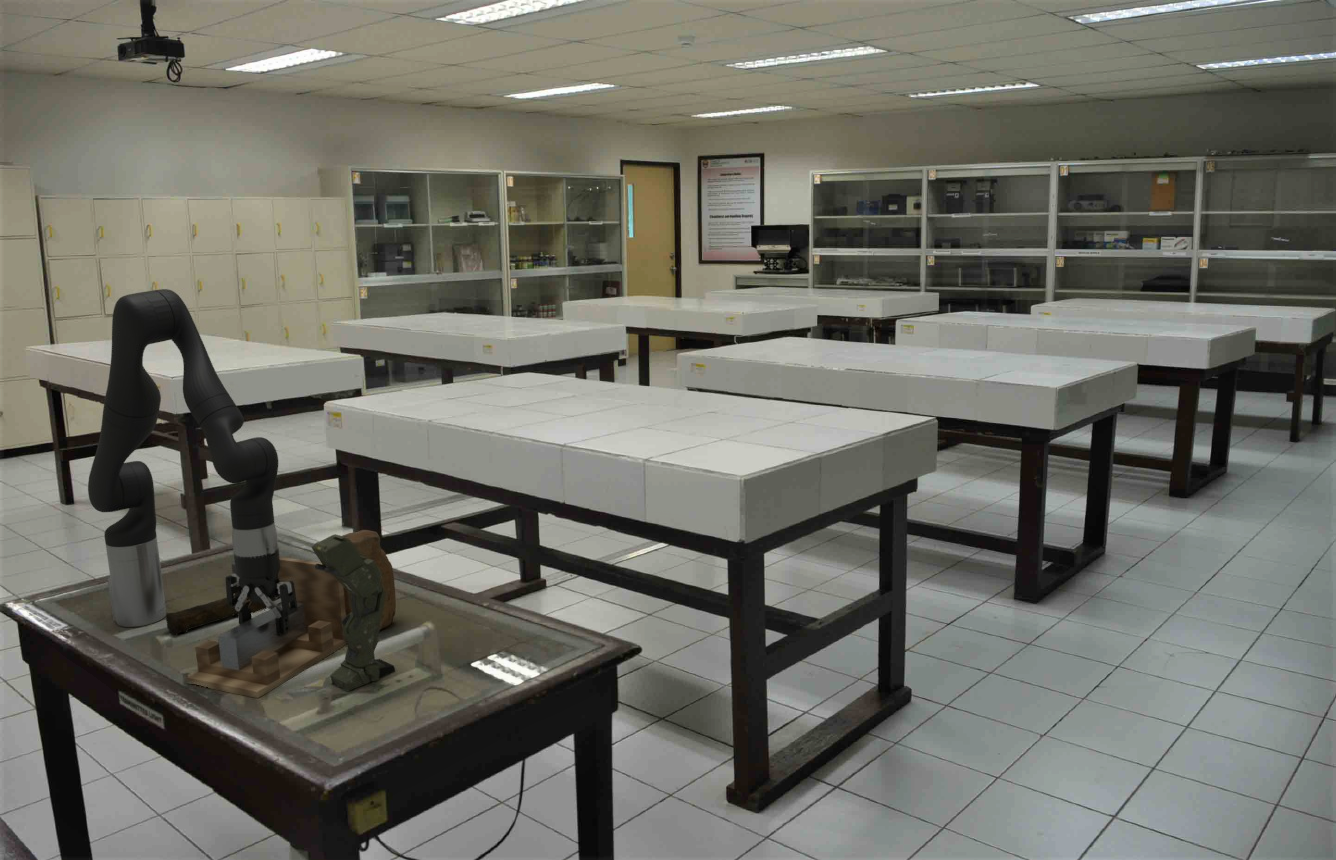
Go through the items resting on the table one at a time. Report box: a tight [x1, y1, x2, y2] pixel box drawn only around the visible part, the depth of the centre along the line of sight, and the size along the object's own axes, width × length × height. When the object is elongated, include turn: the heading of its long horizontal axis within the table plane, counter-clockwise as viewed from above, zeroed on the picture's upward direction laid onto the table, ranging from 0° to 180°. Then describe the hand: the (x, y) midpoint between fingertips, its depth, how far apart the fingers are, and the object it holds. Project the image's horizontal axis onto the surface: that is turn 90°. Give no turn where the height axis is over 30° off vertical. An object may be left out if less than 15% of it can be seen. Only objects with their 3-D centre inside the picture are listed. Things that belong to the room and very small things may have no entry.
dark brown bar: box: [165, 590, 275, 636], centre depth 200 cm, size 23×5×6 cm, turn 136°
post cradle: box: [186, 556, 347, 699], centre depth 178 cm, size 16×24×16 cm
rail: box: [217, 602, 307, 670], centre depth 178 cm, size 4×17×6 cm, turn 159°
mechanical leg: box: [311, 534, 396, 692], centre depth 170 cm, size 13×7×29 cm, turn 140°
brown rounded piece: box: [342, 529, 397, 632], centre depth 193 cm, size 11×8×20 cm
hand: (264, 631), depth 178 cm, fingers open, 8 cm apart
